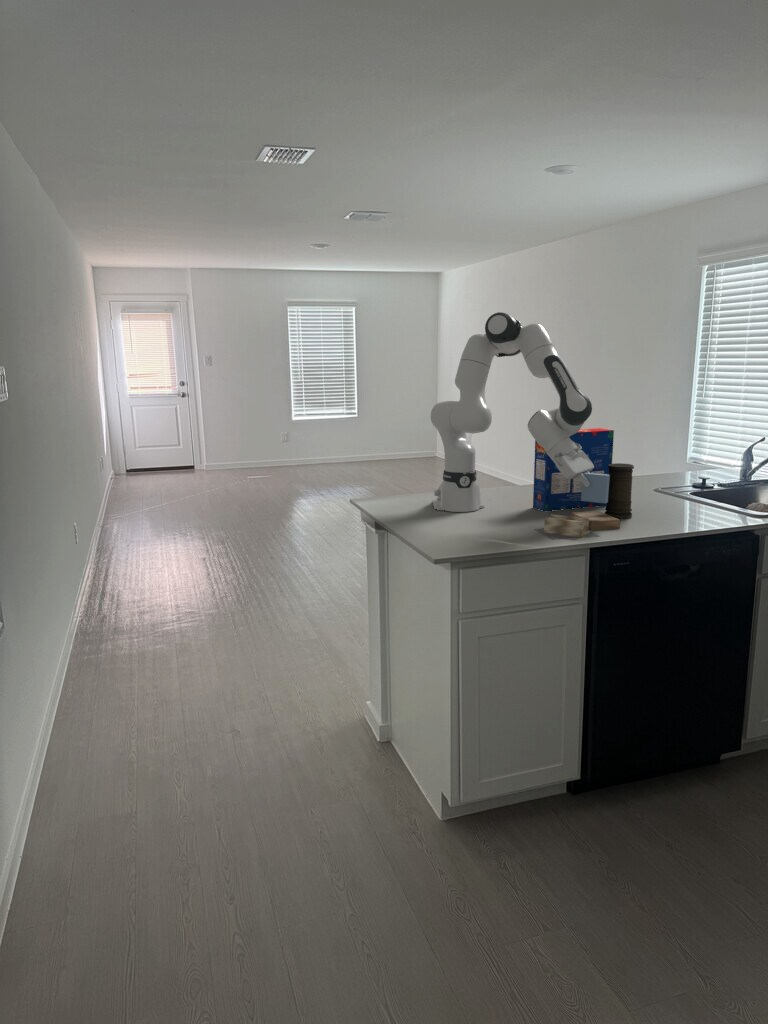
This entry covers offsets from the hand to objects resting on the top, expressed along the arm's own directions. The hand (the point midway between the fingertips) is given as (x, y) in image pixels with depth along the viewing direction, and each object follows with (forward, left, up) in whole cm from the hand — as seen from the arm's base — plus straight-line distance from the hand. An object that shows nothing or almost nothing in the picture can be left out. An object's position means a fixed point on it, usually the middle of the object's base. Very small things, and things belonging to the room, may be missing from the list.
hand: (591, 484), depth 229 cm
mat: (+8, -12, -13) cm, 20 cm away
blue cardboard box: (-29, +8, -14) cm, 33 cm away
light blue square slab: (+1, +1, -5) cm, 6 cm away
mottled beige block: (+8, -12, -13) cm, 20 cm away
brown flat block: (0, +2, -13) cm, 14 cm away
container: (-10, +16, -14) cm, 23 cm away
